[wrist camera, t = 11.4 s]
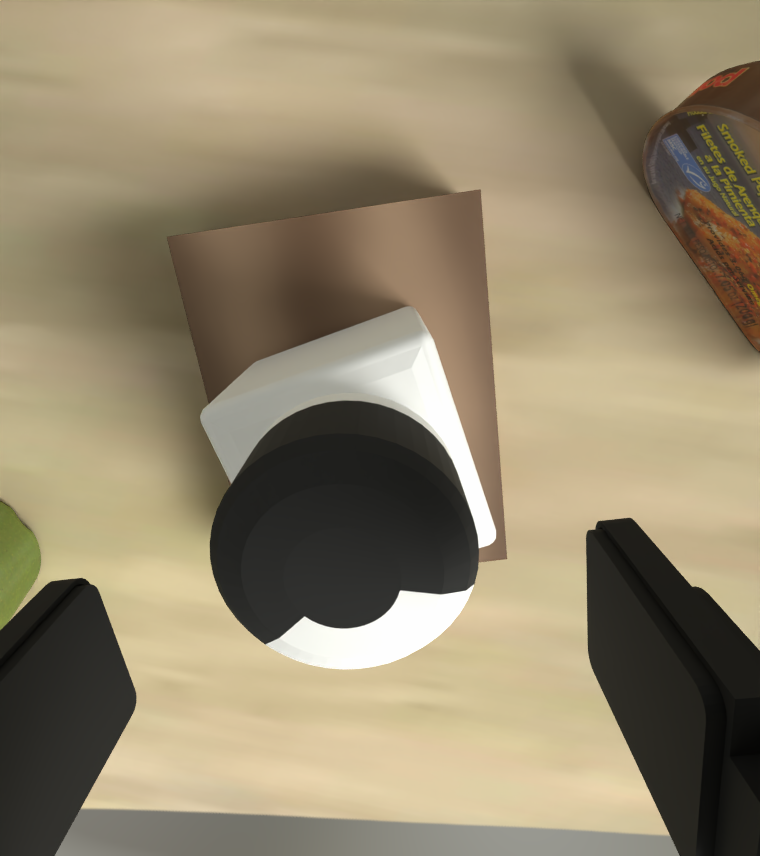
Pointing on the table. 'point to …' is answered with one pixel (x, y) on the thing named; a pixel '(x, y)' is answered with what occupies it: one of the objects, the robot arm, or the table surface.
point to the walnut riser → (352, 300)
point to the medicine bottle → (346, 497)
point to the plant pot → (15, 562)
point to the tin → (715, 186)
